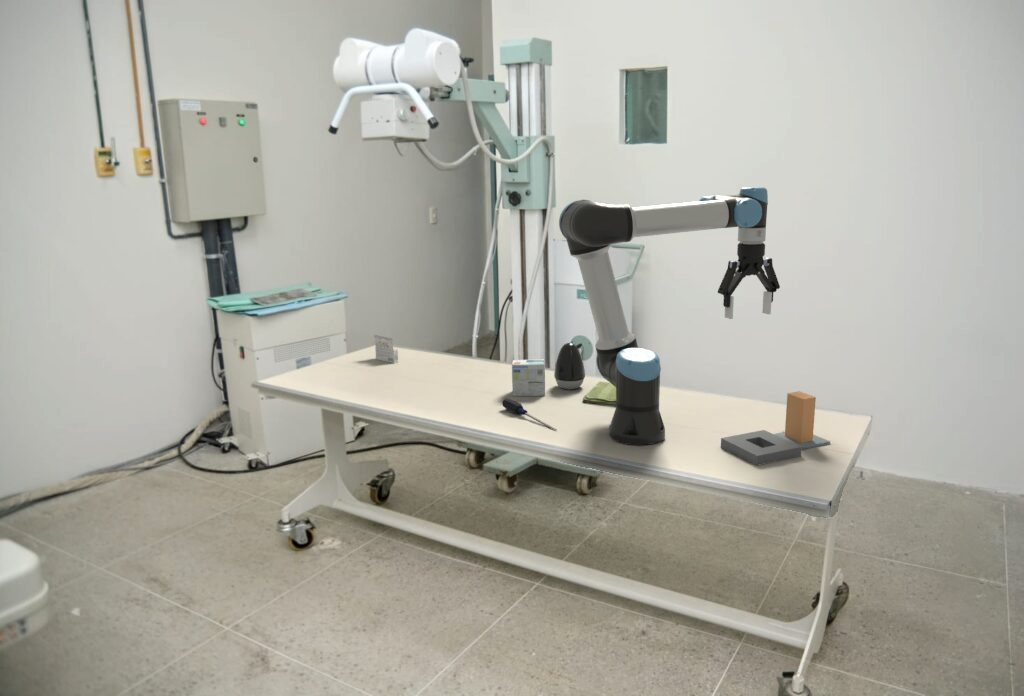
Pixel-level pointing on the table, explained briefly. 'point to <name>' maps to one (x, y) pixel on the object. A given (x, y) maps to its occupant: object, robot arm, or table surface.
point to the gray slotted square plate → (750, 450)
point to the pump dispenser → (569, 367)
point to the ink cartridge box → (385, 349)
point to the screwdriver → (519, 410)
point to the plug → (800, 416)
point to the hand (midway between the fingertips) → (747, 315)
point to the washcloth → (601, 394)
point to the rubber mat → (816, 442)
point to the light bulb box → (528, 377)
